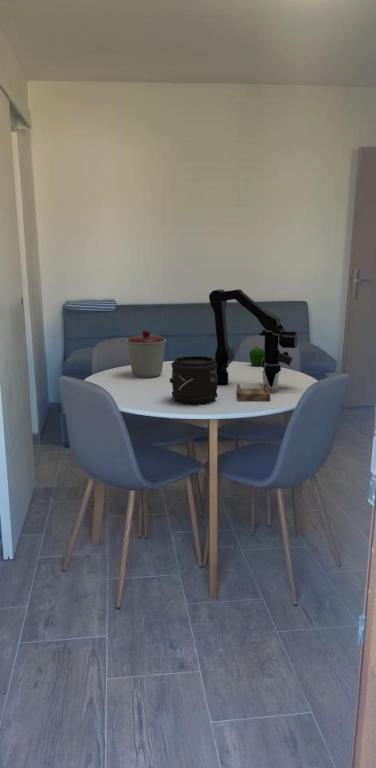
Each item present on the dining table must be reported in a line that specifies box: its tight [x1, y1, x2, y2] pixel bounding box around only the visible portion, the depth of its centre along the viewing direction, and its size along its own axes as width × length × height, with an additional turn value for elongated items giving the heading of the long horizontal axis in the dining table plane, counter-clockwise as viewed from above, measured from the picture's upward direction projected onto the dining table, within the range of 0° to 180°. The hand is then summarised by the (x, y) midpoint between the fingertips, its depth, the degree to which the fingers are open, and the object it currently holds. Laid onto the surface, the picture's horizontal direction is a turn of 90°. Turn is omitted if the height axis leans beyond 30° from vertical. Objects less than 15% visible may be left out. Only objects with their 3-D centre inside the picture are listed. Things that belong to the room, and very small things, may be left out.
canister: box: [125, 329, 167, 378], centre depth 267 cm, size 18×18×21 cm
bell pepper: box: [249, 345, 265, 367], centre depth 289 cm, size 8×8×10 cm
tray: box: [236, 384, 271, 402], centre depth 230 cm, size 12×16×3 cm
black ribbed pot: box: [169, 355, 218, 406], centre depth 224 cm, size 18×18×16 cm
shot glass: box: [261, 370, 280, 390], centre depth 243 cm, size 7×7×7 cm
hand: (270, 384), depth 243 cm, fingers closed on shot glass, 6 cm apart
